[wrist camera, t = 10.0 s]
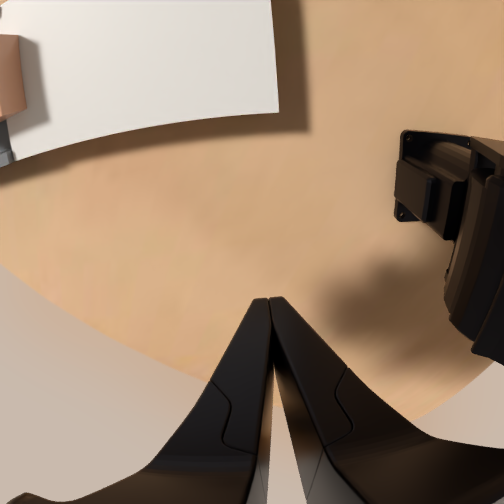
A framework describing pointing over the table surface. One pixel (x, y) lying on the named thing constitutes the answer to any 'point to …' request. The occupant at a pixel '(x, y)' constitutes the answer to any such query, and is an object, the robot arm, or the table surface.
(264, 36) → the board
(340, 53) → the table surface
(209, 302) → the table surface
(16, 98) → the tile
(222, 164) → the table surface
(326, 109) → the table surface
